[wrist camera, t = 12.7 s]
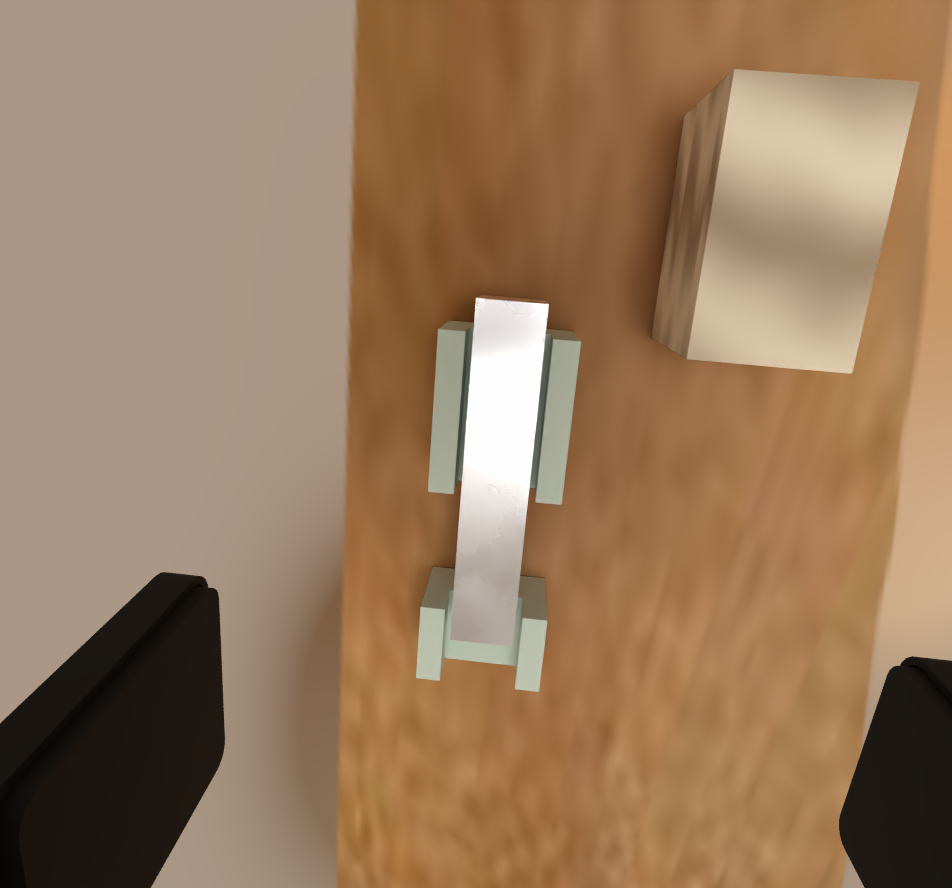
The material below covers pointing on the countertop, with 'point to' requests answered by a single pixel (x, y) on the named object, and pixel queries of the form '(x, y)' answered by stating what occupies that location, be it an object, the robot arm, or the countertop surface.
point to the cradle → (545, 480)
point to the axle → (497, 466)
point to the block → (780, 218)
